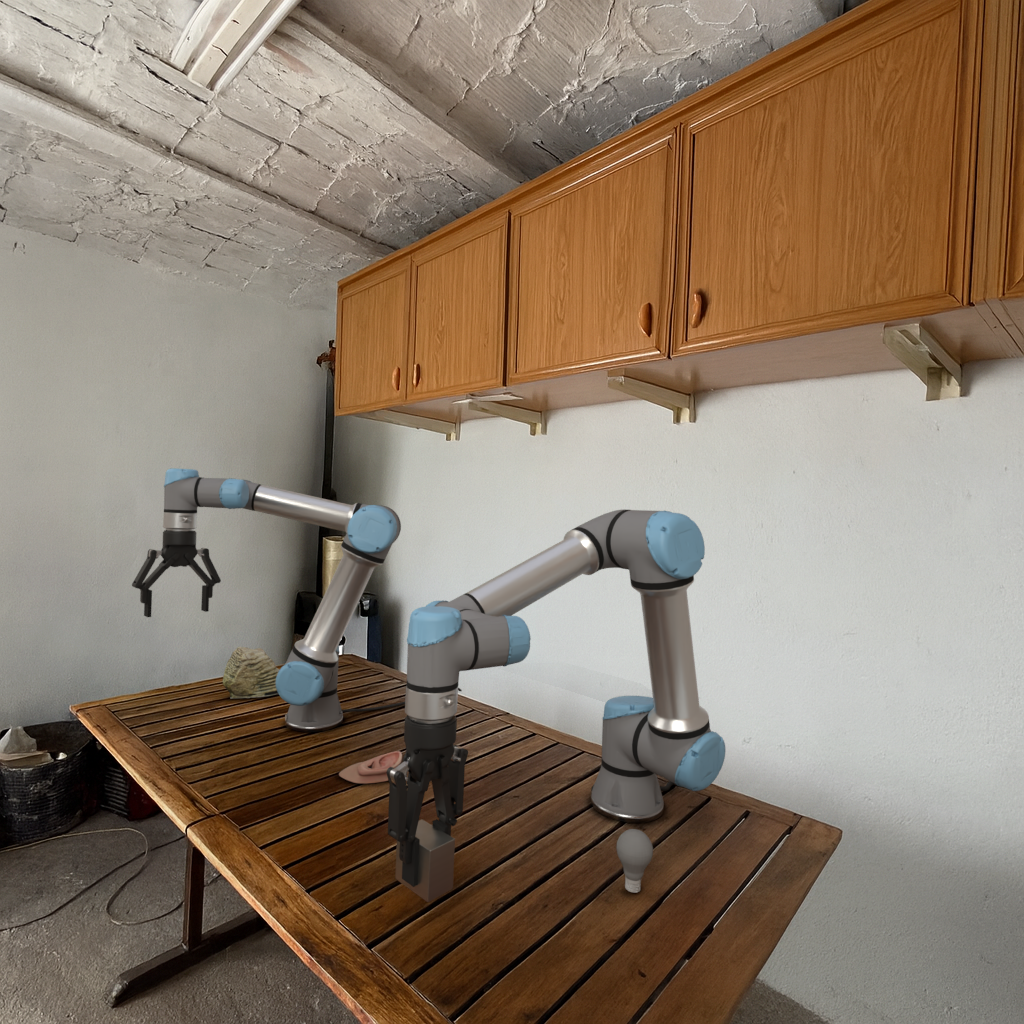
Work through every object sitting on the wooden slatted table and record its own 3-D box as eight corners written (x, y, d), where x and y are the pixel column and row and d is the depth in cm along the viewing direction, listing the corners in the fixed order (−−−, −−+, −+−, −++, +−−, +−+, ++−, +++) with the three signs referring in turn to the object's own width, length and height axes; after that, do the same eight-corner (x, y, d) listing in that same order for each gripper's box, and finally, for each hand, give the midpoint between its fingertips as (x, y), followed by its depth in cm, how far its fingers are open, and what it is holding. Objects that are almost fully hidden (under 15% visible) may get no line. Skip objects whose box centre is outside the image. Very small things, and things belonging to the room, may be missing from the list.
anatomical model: (332, 762, 141) (355, 743, 152) (332, 780, 141) (355, 759, 153) (388, 770, 139) (407, 750, 150) (388, 788, 139) (407, 766, 150)
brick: (395, 878, 93) (396, 829, 93) (420, 866, 96) (421, 818, 96) (427, 902, 88) (430, 850, 88) (453, 888, 91) (455, 838, 91)
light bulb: (610, 879, 108) (613, 822, 108) (644, 879, 109) (647, 822, 109) (619, 902, 102) (622, 840, 102) (655, 901, 103) (658, 840, 103)
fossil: (218, 695, 195) (220, 647, 195) (278, 685, 208) (279, 640, 207) (228, 703, 189) (230, 653, 188) (289, 692, 201) (290, 645, 201)
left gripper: (129, 531, 148) (126, 621, 148) (235, 530, 166) (232, 610, 167) (119, 529, 153) (116, 616, 154) (223, 528, 172) (220, 606, 172)
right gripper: (396, 737, 83) (389, 913, 83) (492, 708, 96) (486, 861, 96) (364, 721, 88) (357, 888, 88) (459, 696, 101) (453, 841, 101)
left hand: (177, 613), depth 160 cm, fingers open, 13 cm apart
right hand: (424, 873), depth 92 cm, fingers closed on brick, 5 cm apart
